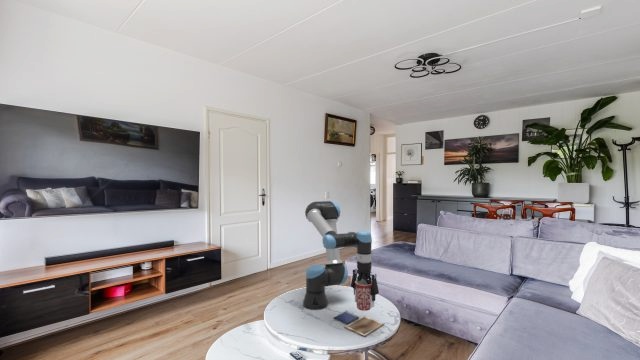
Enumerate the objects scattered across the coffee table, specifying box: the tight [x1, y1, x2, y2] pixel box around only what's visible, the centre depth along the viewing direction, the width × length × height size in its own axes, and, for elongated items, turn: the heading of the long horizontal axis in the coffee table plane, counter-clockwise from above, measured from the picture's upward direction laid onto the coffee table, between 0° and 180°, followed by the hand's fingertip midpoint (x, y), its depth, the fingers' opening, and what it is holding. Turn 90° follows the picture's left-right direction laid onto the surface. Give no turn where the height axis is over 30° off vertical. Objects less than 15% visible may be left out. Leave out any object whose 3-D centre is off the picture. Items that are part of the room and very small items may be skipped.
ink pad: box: [333, 311, 360, 326], centre depth 160 cm, size 10×10×1 cm
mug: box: [355, 279, 372, 312], centre depth 152 cm, size 13×9×14 cm
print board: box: [344, 315, 385, 338], centre depth 151 cm, size 13×17×1 cm
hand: (364, 304), depth 151 cm, fingers closed on mug, 9 cm apart
